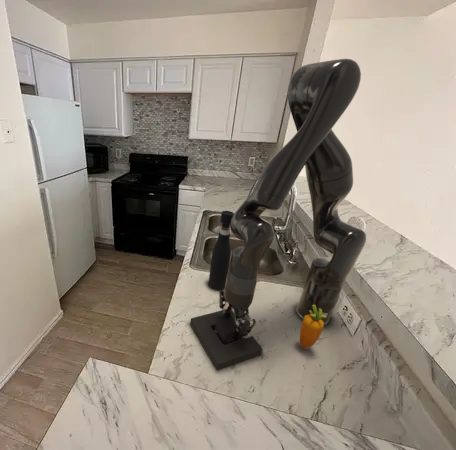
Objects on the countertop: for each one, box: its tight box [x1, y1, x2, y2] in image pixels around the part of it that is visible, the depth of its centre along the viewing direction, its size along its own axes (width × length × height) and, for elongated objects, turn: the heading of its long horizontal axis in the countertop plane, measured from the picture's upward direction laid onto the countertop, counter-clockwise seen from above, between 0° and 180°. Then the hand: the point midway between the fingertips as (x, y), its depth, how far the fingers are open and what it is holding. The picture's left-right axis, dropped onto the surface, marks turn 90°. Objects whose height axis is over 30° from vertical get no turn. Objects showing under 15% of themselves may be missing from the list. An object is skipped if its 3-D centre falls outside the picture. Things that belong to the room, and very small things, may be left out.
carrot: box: [299, 305, 326, 350], centre depth 69 cm, size 5×5×15 cm
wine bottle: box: [208, 210, 235, 292], centre depth 90 cm, size 6×6×30 cm
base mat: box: [189, 309, 264, 371], centre depth 74 cm, size 14×16×2 cm
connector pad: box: [214, 316, 249, 344], centre depth 74 cm, size 8×5×4 cm, turn 109°
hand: (231, 330), depth 74 cm, fingers closed on connector pad, 5 cm apart
